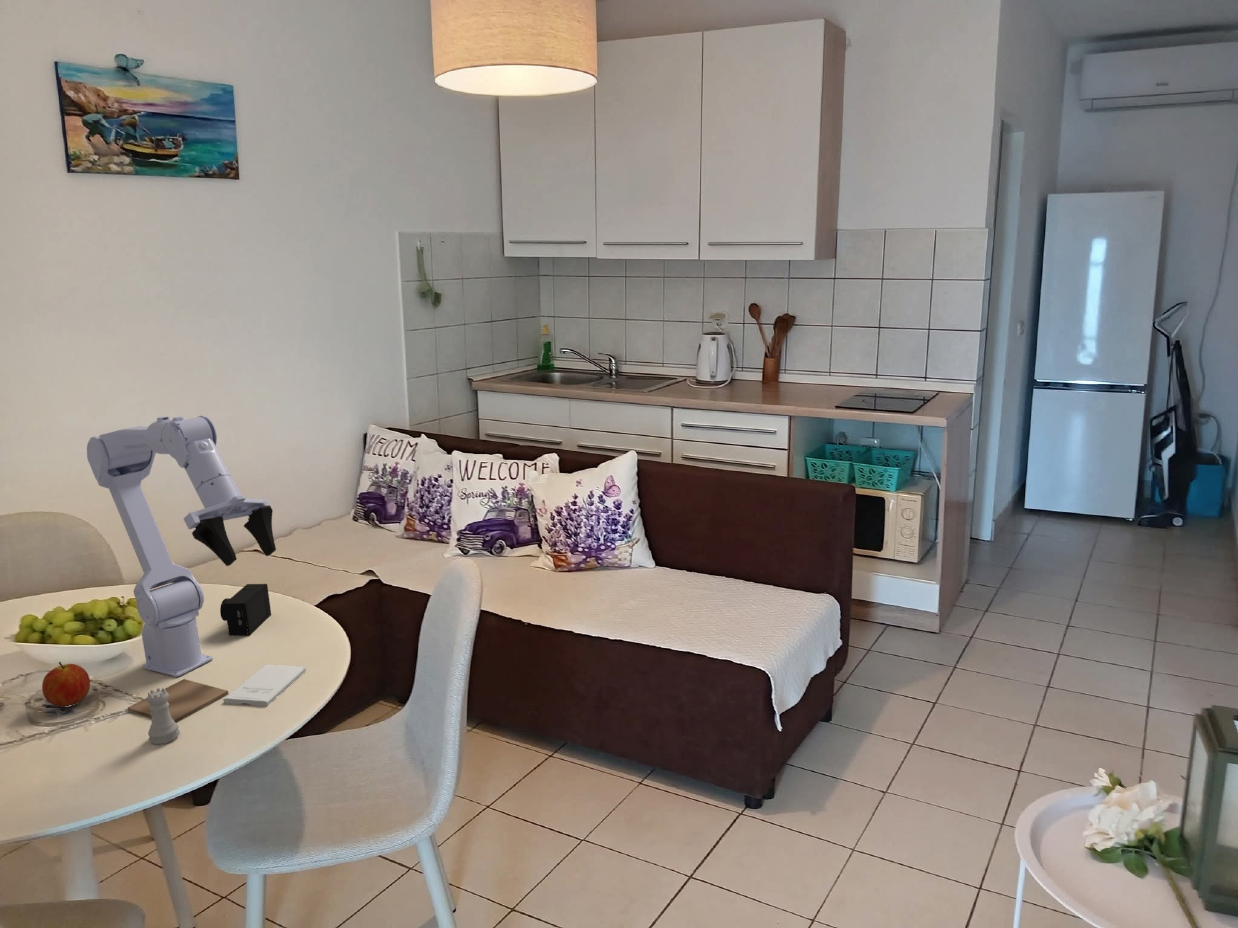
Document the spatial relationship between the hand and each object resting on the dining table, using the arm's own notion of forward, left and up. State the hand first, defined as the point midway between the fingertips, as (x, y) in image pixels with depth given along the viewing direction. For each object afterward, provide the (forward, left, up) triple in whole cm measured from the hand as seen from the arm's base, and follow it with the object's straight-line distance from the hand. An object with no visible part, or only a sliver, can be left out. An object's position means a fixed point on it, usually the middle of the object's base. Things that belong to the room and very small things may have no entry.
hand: (251, 557), depth 148 cm
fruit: (-34, -13, -27) cm, 45 cm away
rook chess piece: (-9, -14, -27) cm, 31 cm away
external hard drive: (-7, +5, -27) cm, 29 cm away
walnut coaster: (-17, -5, -26) cm, 32 cm away
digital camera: (-32, +23, -27) cm, 48 cm away
